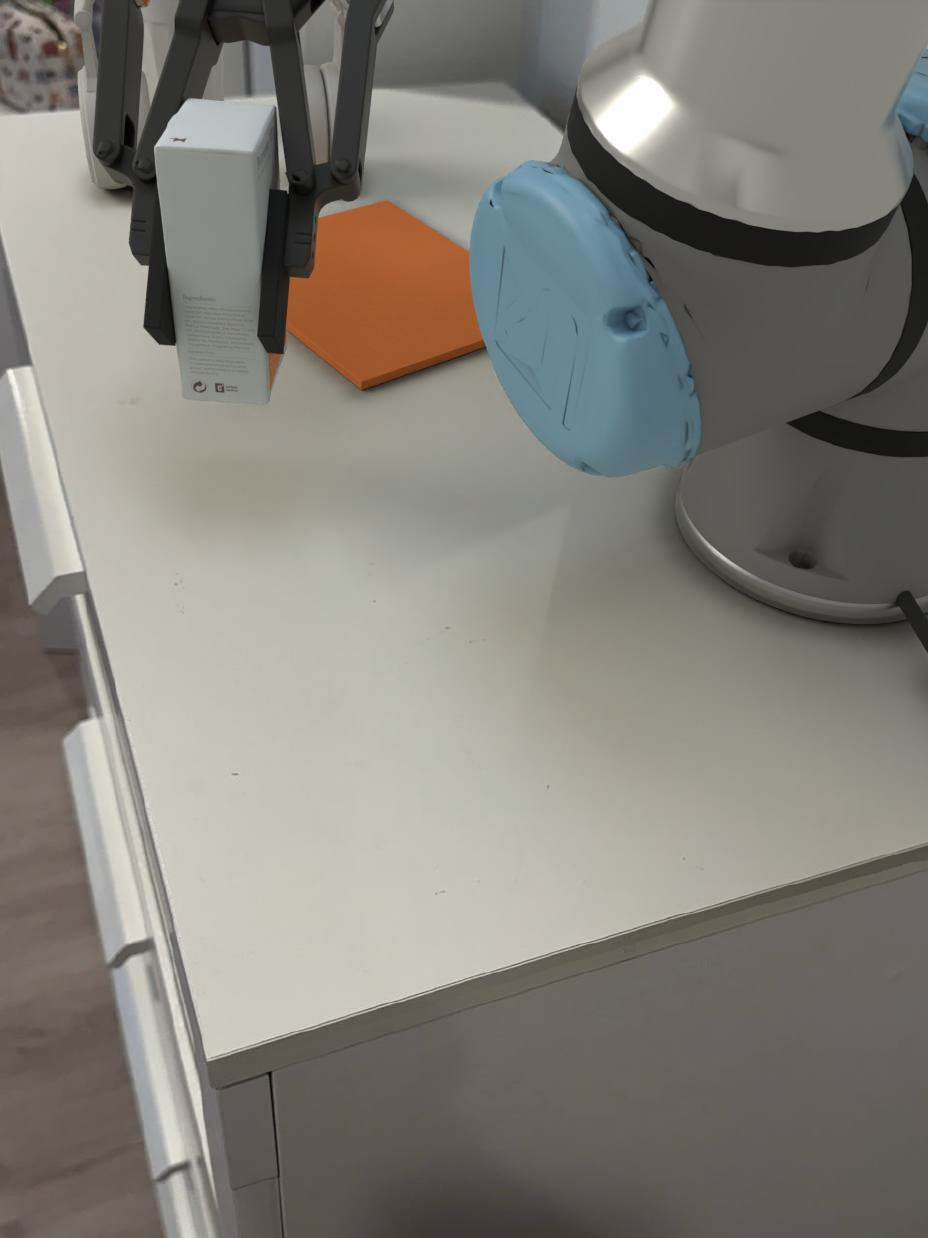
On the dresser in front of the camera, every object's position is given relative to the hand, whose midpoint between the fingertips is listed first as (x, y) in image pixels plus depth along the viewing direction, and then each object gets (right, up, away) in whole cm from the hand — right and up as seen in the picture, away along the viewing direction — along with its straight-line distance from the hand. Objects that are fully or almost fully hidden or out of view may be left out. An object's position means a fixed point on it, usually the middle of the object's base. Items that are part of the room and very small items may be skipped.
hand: (215, 339), depth 52 cm
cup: (-12, +29, +46) cm, 55 cm away
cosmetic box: (0, 0, +6) cm, 6 cm away
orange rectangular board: (+5, +10, +27) cm, 29 cm away
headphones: (-7, +21, +38) cm, 44 cm away
